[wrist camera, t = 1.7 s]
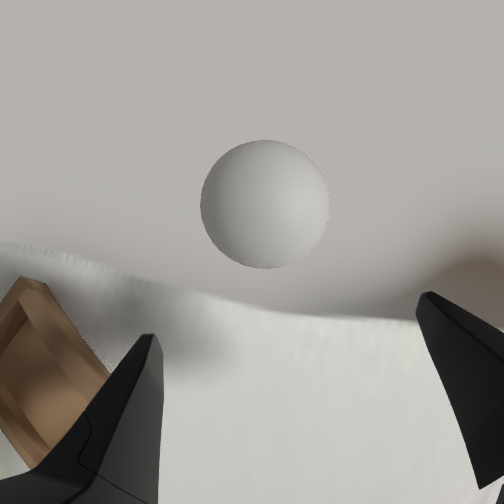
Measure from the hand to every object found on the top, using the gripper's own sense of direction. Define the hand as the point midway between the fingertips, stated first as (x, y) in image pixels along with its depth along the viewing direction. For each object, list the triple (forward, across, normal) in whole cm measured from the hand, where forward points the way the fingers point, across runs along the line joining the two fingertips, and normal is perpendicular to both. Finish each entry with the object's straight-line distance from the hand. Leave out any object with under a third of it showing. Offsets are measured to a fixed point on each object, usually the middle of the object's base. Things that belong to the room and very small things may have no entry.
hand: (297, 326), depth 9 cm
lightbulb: (+13, 0, +5) cm, 13 cm away
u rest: (+6, +19, +11) cm, 23 cm away
